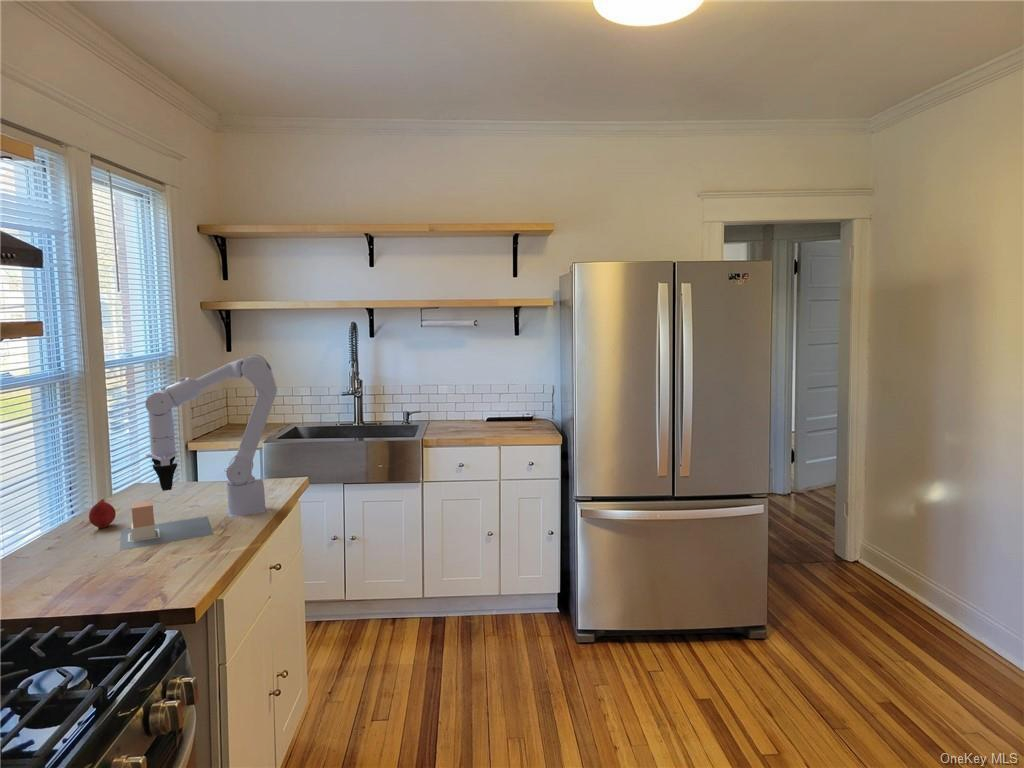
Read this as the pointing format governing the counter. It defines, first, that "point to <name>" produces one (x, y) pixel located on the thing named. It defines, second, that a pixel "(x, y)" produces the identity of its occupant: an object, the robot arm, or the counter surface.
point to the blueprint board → (164, 532)
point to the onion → (102, 514)
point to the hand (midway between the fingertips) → (166, 486)
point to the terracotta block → (142, 514)
